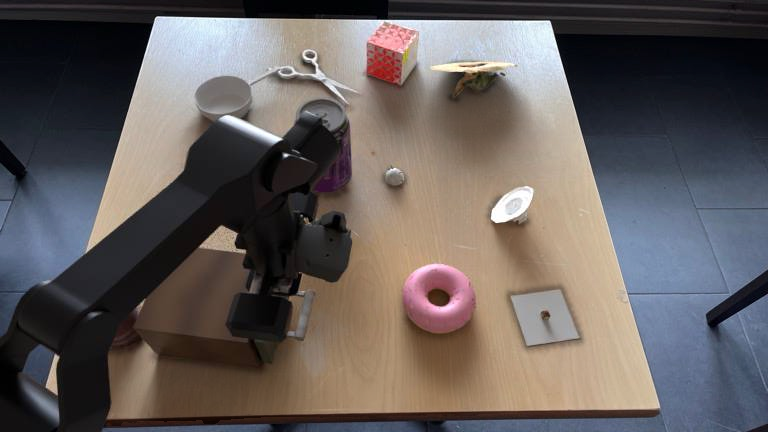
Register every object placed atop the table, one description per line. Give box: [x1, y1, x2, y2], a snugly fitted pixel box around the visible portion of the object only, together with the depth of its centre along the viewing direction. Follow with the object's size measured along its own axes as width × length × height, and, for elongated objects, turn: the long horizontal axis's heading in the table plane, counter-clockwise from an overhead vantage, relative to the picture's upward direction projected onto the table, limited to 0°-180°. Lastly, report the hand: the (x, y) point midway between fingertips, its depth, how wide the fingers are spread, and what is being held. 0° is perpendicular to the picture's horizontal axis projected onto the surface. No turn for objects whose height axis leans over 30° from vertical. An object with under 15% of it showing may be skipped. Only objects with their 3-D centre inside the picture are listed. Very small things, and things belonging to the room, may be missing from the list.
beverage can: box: [293, 96, 353, 194], centre depth 86 cm, size 9×9×15 cm
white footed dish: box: [490, 185, 534, 225], centre depth 86 cm, size 8×5×8 cm
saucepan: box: [193, 65, 281, 123], centre depth 101 cm, size 11×18×4 cm, turn 129°
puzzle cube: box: [366, 20, 420, 87], centre depth 106 cm, size 8×8×8 cm
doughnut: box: [400, 262, 477, 334], centre depth 77 cm, size 11×11×4 cm
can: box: [110, 306, 142, 350], centre depth 69 cm, size 6×6×14 cm
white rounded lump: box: [385, 165, 405, 186], centre depth 91 cm, size 3×4×3 cm
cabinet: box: [133, 246, 263, 370], centre depth 72 cm, size 15×13×10 cm
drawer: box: [250, 289, 316, 365], centre depth 72 cm, size 18×11×8 cm, turn 83°
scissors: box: [267, 49, 362, 105], centre depth 106 cm, size 11×1×20 cm
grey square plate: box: [510, 289, 580, 347], centre depth 77 cm, size 8×8×2 cm
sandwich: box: [429, 61, 518, 99], centre depth 105 cm, size 18×14×8 cm
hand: (286, 292), depth 66 cm, fingers closed
